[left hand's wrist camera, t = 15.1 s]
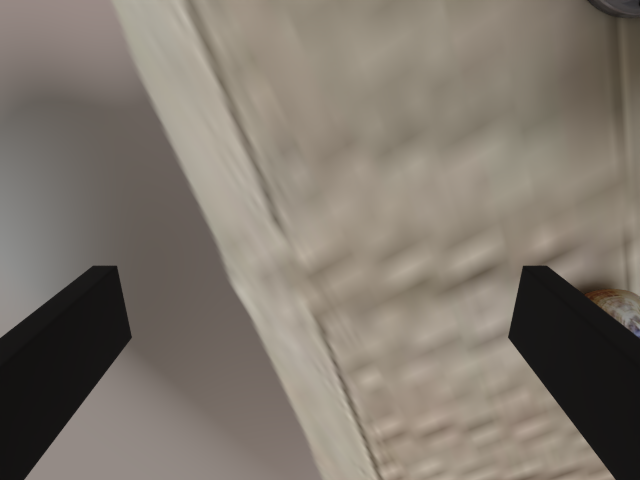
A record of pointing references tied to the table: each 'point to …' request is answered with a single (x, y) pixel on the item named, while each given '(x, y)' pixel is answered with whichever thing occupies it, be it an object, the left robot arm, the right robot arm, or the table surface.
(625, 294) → the seashell
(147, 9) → the table surface
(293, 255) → the table surface
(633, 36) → the table surface
